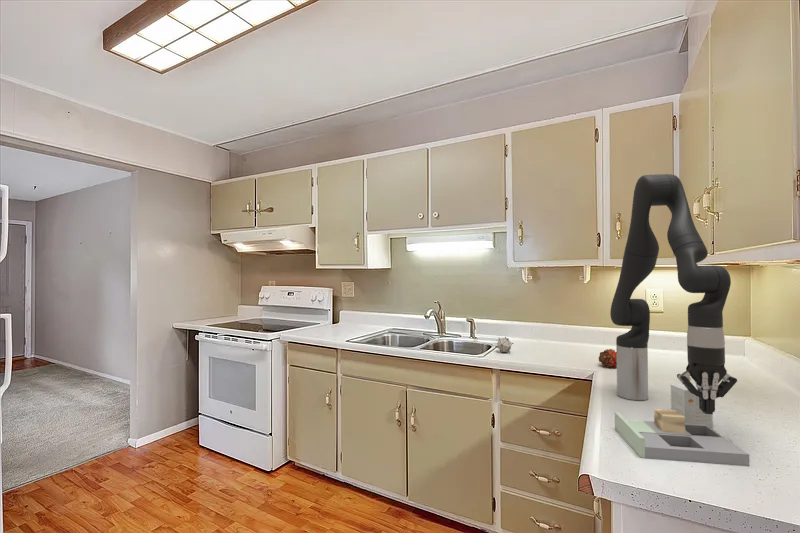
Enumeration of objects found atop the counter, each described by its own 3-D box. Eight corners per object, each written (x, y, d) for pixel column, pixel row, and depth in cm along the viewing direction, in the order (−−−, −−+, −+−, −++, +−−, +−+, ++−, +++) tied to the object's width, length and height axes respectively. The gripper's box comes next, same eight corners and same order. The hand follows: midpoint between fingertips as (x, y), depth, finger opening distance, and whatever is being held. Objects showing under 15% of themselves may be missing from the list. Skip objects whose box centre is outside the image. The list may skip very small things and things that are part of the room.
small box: (697, 419, 114) (696, 383, 114) (713, 427, 108) (713, 389, 108) (670, 420, 113) (669, 383, 113) (684, 428, 108) (684, 389, 108)
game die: (508, 360, 205) (516, 346, 200) (492, 354, 205) (500, 340, 200) (507, 348, 212) (515, 335, 207) (492, 343, 213) (500, 329, 207)
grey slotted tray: (614, 428, 108) (614, 411, 108) (705, 434, 104) (705, 416, 104) (640, 457, 91) (639, 438, 91) (749, 465, 87) (749, 445, 87)
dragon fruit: (607, 373, 170) (608, 371, 180) (625, 363, 167) (625, 361, 178) (594, 356, 173) (596, 354, 184) (612, 345, 171) (612, 345, 181)
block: (654, 424, 104) (654, 409, 104) (675, 425, 103) (675, 410, 103) (663, 431, 99) (662, 415, 99) (685, 433, 98) (685, 417, 98)
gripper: (726, 342, 102) (727, 409, 102) (669, 341, 105) (670, 406, 104) (745, 347, 95) (747, 420, 95) (683, 346, 97) (685, 416, 97)
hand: (707, 413), depth 99 cm, fingers closed
